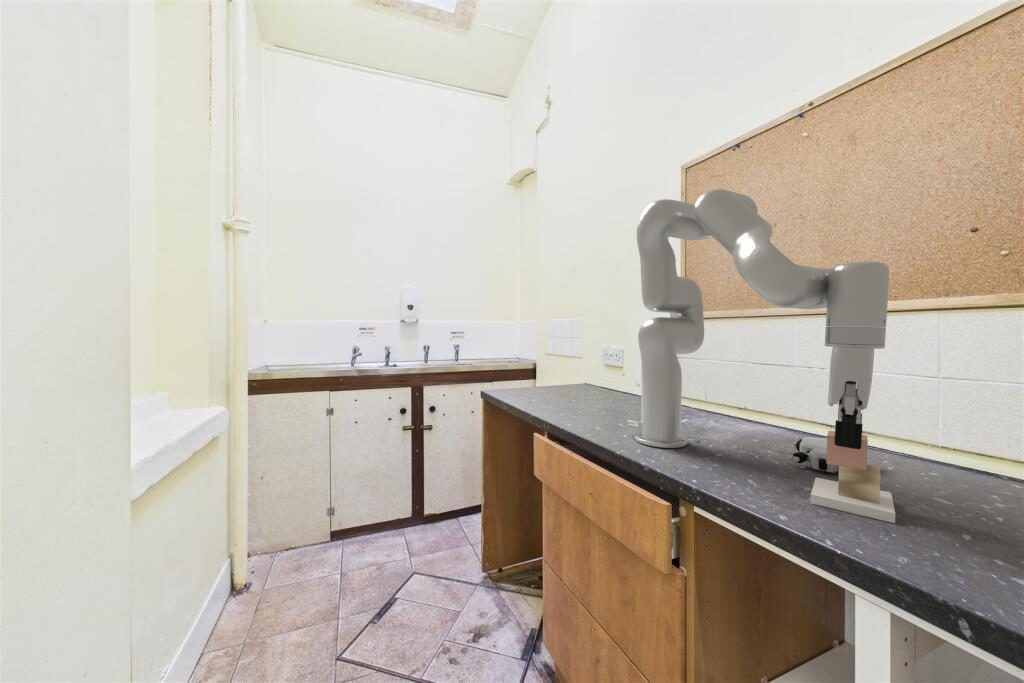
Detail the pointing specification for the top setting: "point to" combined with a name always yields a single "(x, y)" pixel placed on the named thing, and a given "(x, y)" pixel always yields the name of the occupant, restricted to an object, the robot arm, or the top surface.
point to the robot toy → (813, 453)
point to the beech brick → (860, 483)
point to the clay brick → (846, 453)
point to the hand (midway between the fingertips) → (848, 440)
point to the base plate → (852, 501)
